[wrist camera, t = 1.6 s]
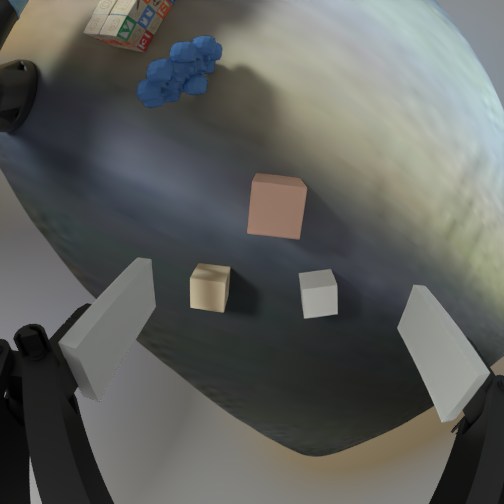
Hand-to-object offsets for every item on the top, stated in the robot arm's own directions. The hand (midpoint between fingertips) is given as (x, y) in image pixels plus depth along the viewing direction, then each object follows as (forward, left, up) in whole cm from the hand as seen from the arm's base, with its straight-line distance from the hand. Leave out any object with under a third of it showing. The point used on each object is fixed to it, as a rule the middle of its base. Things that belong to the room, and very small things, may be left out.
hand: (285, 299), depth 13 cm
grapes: (-12, +14, -27) cm, 33 cm away
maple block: (-8, -15, -27) cm, 32 cm away
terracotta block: (0, -1, -27) cm, 27 cm away
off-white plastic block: (+8, -14, -27) cm, 31 cm away
